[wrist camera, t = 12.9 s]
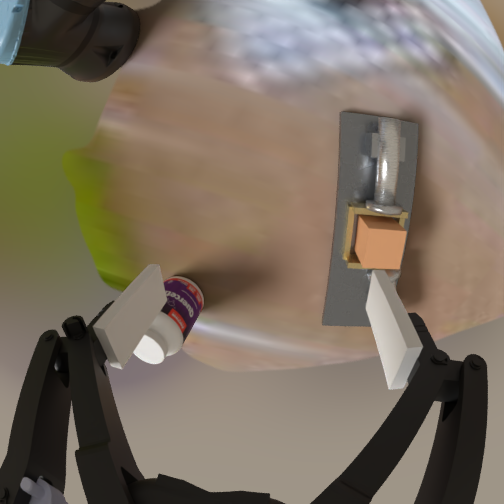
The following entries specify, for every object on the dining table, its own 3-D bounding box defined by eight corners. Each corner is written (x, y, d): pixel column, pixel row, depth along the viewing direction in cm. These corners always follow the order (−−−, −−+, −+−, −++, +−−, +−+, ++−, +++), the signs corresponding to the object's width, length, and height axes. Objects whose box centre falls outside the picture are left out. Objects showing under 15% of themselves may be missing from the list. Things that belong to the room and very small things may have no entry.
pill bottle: (213, 291, 45) (183, 350, 32) (193, 321, 48) (162, 378, 35) (172, 264, 44) (128, 314, 31) (155, 296, 47) (115, 347, 34)
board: (339, 112, 31) (345, 109, 28) (414, 123, 30) (427, 123, 26) (321, 320, 44) (323, 337, 40) (383, 322, 42) (389, 337, 39)
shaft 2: (362, 264, 38) (371, 283, 33) (392, 255, 36) (405, 273, 31) (372, 323, 41) (379, 346, 36) (399, 315, 40) (409, 337, 35)
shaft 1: (392, 205, 34) (407, 216, 29) (360, 202, 34) (370, 213, 29) (398, 123, 29) (415, 121, 24) (364, 117, 30) (376, 114, 25)
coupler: (354, 248, 37) (362, 267, 32) (358, 214, 35) (368, 228, 30) (386, 250, 36) (399, 269, 31) (391, 217, 34) (406, 231, 29)
